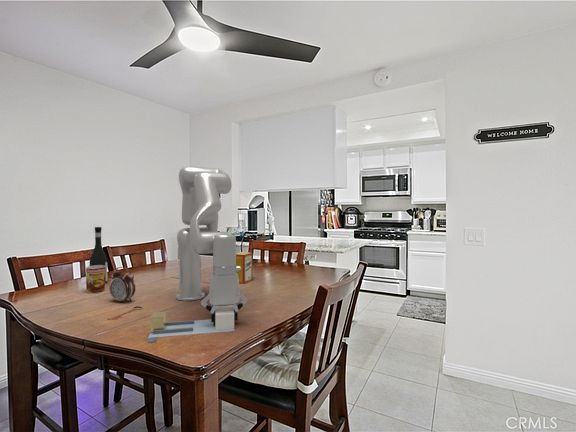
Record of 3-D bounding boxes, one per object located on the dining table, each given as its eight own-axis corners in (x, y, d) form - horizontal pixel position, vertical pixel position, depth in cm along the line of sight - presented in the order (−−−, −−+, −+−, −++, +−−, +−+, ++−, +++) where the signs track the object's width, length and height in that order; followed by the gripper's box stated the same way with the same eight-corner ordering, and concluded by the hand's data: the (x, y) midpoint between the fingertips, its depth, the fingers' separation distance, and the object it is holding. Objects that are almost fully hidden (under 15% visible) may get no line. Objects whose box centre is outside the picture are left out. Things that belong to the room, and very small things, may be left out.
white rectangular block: (215, 320, 111) (215, 306, 110) (232, 319, 112) (232, 305, 112) (215, 330, 102) (215, 315, 102) (234, 328, 103) (234, 313, 103)
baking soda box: (242, 279, 179) (242, 251, 179) (252, 280, 177) (252, 251, 177) (233, 282, 171) (233, 253, 170) (244, 284, 168) (244, 254, 168)
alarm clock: (108, 301, 136) (108, 267, 135) (118, 298, 140) (117, 265, 140) (127, 304, 132) (127, 269, 132) (136, 301, 137) (136, 267, 136)
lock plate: (155, 327, 108) (155, 320, 107) (232, 321, 113) (232, 315, 113) (147, 342, 96) (147, 334, 96) (234, 335, 102) (234, 327, 102)
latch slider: (153, 326, 104) (153, 312, 104) (166, 325, 105) (165, 311, 105) (150, 332, 99) (150, 317, 99) (163, 331, 100) (163, 316, 100)
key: (116, 323, 113) (148, 310, 127) (116, 321, 113) (148, 308, 127) (104, 320, 115) (136, 307, 129) (104, 317, 115) (137, 305, 129)
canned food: (87, 294, 146) (87, 268, 146) (84, 291, 152) (84, 266, 152) (107, 291, 152) (106, 266, 151) (103, 288, 158) (103, 264, 157)
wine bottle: (103, 281, 172) (102, 226, 171) (110, 283, 168) (109, 227, 167) (87, 284, 166) (86, 227, 165) (93, 286, 161) (93, 227, 160)
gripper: (249, 267, 112) (248, 317, 112) (198, 269, 108) (198, 321, 109) (251, 271, 105) (251, 325, 105) (197, 273, 101) (197, 329, 101)
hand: (224, 322), depth 107 cm, fingers closed on white rectangular block, 6 cm apart
